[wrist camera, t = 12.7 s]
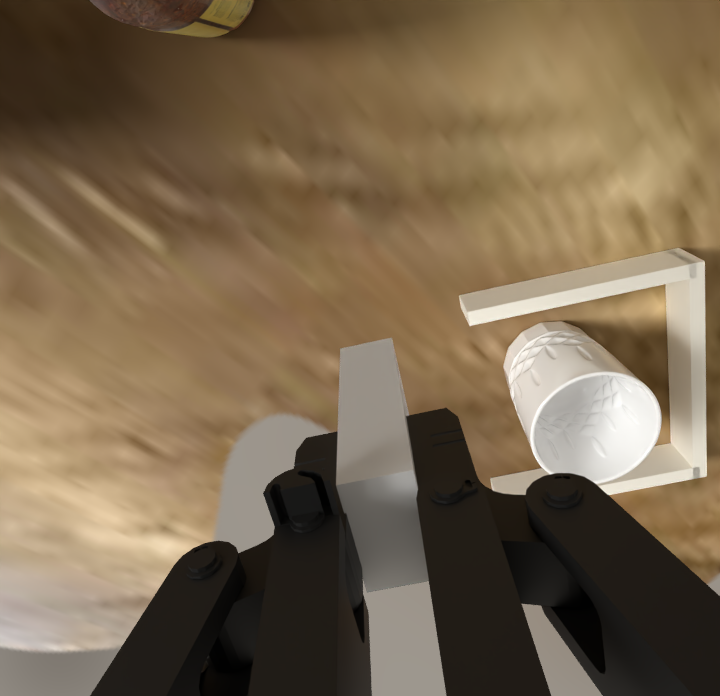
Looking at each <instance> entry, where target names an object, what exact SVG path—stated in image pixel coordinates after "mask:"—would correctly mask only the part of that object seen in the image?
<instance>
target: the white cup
mask: <svg viewBox="0 0 720 696" xmlns="http://www.w3.org/2000/svg"><path fill="white" fill-rule="evenodd" d="M503 367H504V371H505V376H506V380H507V384H508V387H509V389H510V394H511V397H512V400H513V402H514V405H515V408H516V411H517V414H518V417H519V419H520V422H521V424H522V427H523V429H524V432H525V434H526V436H527V439H528V441H529V444H530V446H531V449H532V451H533V454H534V456H535V458H536V460H537V461H538V463H539V464H540V466H541V467H542V468H543V469H544V470H545V471H546V472H548V473H549V474H555V473H572V474H576V475H580V476H584V477H586V478H587V479H589V480H591V481H592V482H594V483H595V484H600V483H605V482H608V481H611V480H614V479H617V478H619V477H621V476H623V475H625V474H627V473H628V472H630V471H631V470H633V469H634V468H636V467H637V466H638V465H639V464H640V463H641V462H642V461H643V460H644V459H645V458H646V457H647V456H648V455H649V453H650V452H651V450H652V449H653V447H654V446H655V444H656V442H657V439H658V437H659V433H660V429H661V421H662V418H661V410H660V406H659V403H658V401H657V399H656V397H655V395H654V394H653V392H652V391H651V390H650V389H649V388H648V387H647V386H646V385H645V384H644V383H643V382H642V381H641V380H640V379H638V378H637V377H636V376H635V375H634V374H633V373H632V372H631V371H630V370H629V369H627V368H626V367H625V366H624V365H623V364H622V363H621V362H620V361H619V360H618V359H616V358H615V357H614V356H613V355H612V354H611V353H609V352H608V351H607V350H606V349H605V348H603V347H602V346H601V345H600V344H599V343H597V342H596V341H594V340H593V339H591V338H590V337H589V336H588V335H587V334H585V333H584V332H583V331H582V330H581V329H580V328H578V327H575V326H573V325H570V324H568V323H565V322H563V321H555V322H541V323H538V324H537V325H535V326H533V327H531V328H529V329H527V330H525V331H523V332H521V333H520V335H519V336H518V337H517V338H516V339H515V340H514V342H513V343H512V344H511V345H510V346H509V348H508V351H507V354H506V358H505V362H504V365H503Z"/></svg>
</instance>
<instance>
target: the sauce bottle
mask: <svg viewBox="0 0 720 696" xmlns="http://www.w3.org/2000/svg"><path fill="white" fill-rule="evenodd" d="M89 1H91V2H92V3H93V4H94V5H95V6H96V7H97V8H98V9H100V10H101V11H102V12H103V13H105V14H106V15H108V16H110V17H112V18H113V19H115V20H119V21H120V22H123V23H126V24H129V25H133V26H137V27H141V28H144V29H147V30H151V31H157V32H165V33H173V34H181V35H188V36H196V37H216V36H221V35H223V34H226V33H228V32H229V31H231V30H235V29H237V28H238V27H239V26H240V25H241V24H242V23H243V22H244V21H245V19H246V18H247V16H248V15H249V13H250V12H251V9H252V6H253V3H254V0H89Z"/></svg>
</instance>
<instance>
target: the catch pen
mask: <svg viewBox="0 0 720 696" xmlns="http://www.w3.org/2000/svg"><path fill="white" fill-rule="evenodd" d="M664 284H665V287H666V315H667V344H668V373H669V402H670V431H671V443H668V444H663V445H658V446H654V447H653V449H652V450H651V452H650V453H649V455H648V456H647V457H646V458H645V459H644V460H643V461H642V462H641V463H640V464H639V465H638V466H637V467H636V468H634V469H633V470H631V471H630V472H628V473H627V474H625V475H623V476H621V477H619V478H617V479H614V480H611V481H608V482H605V483H600V484H596V485H597V486H599V487H600V488H601V489H602V490H603V491H604V492H605V493H606V494H607V495H611V494H617V493H622V492H627V491H632V490H638V489H643V488H648V487H653V486H659V485H664V484H669V483H674V482H680V481H685V480H690V479H695V478H701V477H706V476H707V454H706V339H705V261H704V260H702V259H700V258H698V257H696V256H694V255H692V254H690V253H688V252H686V251H684V250H682V249H680V248H675V249H670V250H666V251H661V252H657V253H652V254H647V255H643V256H638V257H633V258H629V259H624V260H620V261H615V262H610V263H606V264H601V265H597V266H592V267H587V268H583V269H578V270H574V271H569V272H564V273H560V274H555V275H551V276H546V277H541V278H537V279H532V280H528V281H523V282H518V283H514V284H509V285H505V286H500V287H495V288H491V289H486V290H481V291H477V292H472V293H468V294H463V295H459V298H460V304H461V309H462V311H463V313H464V315H465V317H466V319H467V321H468V323H469V325H470V326H471V325H476V324H481V323H485V322H490V321H495V320H499V319H504V318H509V317H514V316H518V315H523V314H528V313H532V312H537V311H542V310H546V309H551V308H556V307H560V306H565V305H570V304H574V303H579V302H584V301H589V300H593V299H598V298H603V297H607V296H612V295H617V294H621V293H626V292H631V291H635V290H640V289H645V288H649V287H654V286H659V285H664ZM546 475H550V474H549V473H548V472H546V471H545V470H544V469H543V468H540V469H535V470H530V471H525V472H520V473H514V474H509V475H504V476H499V477H494V478H490V479H491V485H492V489H493V491H496V492H500V493H504V494H514V495H526V489H527V488H528V487H529V486H530V485H531V483H532V482H533V481H535V480H537V479H539V478H541V477H543V476H546Z"/></svg>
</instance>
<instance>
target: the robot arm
mask: <svg viewBox="0 0 720 696" xmlns="http://www.w3.org/2000/svg"><path fill="white" fill-rule="evenodd" d="M263 494H264V497H265V500H266V503H267V505H268V508H269V511H270V514H271V517H272V520H273V522H274V526H275V529H274V535H273V536H272V537H271V538H269V539H268V540H267V541H265V542H263V543H261V544H259V545H257V546H255V547H252V548H250V549H248V550H245V551H243V552H241V553H238V552H237V549H236V547H235V546H233V545H232V544H231V543H229V542H223V541H214V542H208V543H205V544H202V545H200V546H198V547H195V548H193V549H192V550H190V551H189V552H187V553H186V554H185V555H183V556H182V557H181V558H180V559H179V560H178V562H177V563H176V564H175V565H174V566H173V568H172V569H171V571H170V573H169V574H168V576H167V577H166V579H165V580H164V582H163V583H162V585H161V587H160V588H159V590H158V591H157V593H156V594H155V596H154V597H153V599H152V601H151V602H150V604H149V605H148V607H147V608H146V610H145V611H144V613H143V615H142V616H141V618H140V619H139V621H138V622H137V624H136V625H135V627H134V629H133V630H132V632H131V633H130V635H129V636H128V638H127V639H126V641H125V643H124V644H123V646H122V647H121V649H120V650H119V652H118V653H117V655H116V657H115V658H114V660H113V661H112V663H111V664H110V666H109V668H108V669H107V671H106V672H105V674H104V676H103V677H102V678H101V680H100V681H99V683H98V684H97V686H96V688H95V689H94V691H93V692H92V694H91V695H90V696H372V691H371V665H370V643H369V642H370V640H369V615H368V609H367V606H366V603H365V599H364V596H363V580H364V584H365V587H366V590H367V592H372V591H377V590H383V589H388V588H394V587H399V586H405V585H410V584H415V583H421V582H426V581H429V585H430V591H431V598H432V604H433V611H434V617H435V623H436V630H437V637H438V643H439V649H440V656H441V662H442V669H443V675H444V682H445V688H446V695H447V696H551V694H550V691H549V688H548V685H547V682H546V678H545V675H544V672H543V669H542V666H541V664H540V660H539V657H538V654H537V651H536V647H535V644H534V641H533V638H532V635H531V632H530V629H529V626H528V623H527V620H526V617H525V613H524V610H523V607H522V605H521V604H532V605H541V606H542V609H543V611H544V613H545V615H546V617H547V618H548V619H549V621H550V622H551V624H552V625H553V626H554V628H555V629H556V631H557V632H558V633H559V635H560V636H561V638H562V639H563V640H564V642H565V643H566V645H567V646H568V647H569V649H570V650H571V652H572V653H573V654H574V656H575V657H576V659H577V660H578V662H579V663H580V664H581V666H582V667H583V669H584V670H585V671H586V673H587V674H588V676H589V677H590V678H591V680H592V681H593V683H594V684H595V685H596V687H597V688H598V689H599V691H600V692H601V694H602V695H603V696H720V596H719V595H718V594H716V592H714V591H713V590H712V589H711V588H710V587H709V586H708V585H707V584H706V583H704V582H703V581H702V580H701V579H700V578H699V577H698V576H697V575H696V574H695V573H693V572H692V571H691V570H690V569H689V568H688V567H687V566H686V565H685V564H684V563H682V562H681V561H680V560H679V559H678V558H677V557H676V556H675V555H674V554H672V553H671V552H670V551H669V550H668V549H667V548H666V547H665V546H664V545H663V544H661V543H660V542H659V541H658V540H657V539H656V538H655V537H654V536H653V535H652V534H650V533H649V532H648V531H647V530H646V529H645V528H644V527H643V526H642V525H640V524H639V523H638V522H637V521H636V520H635V519H634V518H633V517H632V516H631V515H629V514H628V513H627V512H626V511H625V510H624V509H623V508H622V507H621V506H620V505H618V504H617V503H616V502H615V501H614V500H613V499H612V498H611V497H610V496H609V495H607V494H606V493H605V492H604V491H603V490H602V489H601V488H600V487H599V486H597V485H596V484H595V483H594V482H592V481H591V480H589V479H587V478H586V477H584V476H580V475H576V474H572V473H555V474H550V475H546V476H543V477H541V478H539V479H537V480H535V481H533V482H532V483H531V485H530V486H529V487H528V488H527V489H526V495H514V494H504V493H500V492H496V491H493V490H491V489H489V488H487V487H485V486H484V485H483V484H482V483H481V482H480V481H479V479H478V477H477V475H476V472H475V469H474V465H473V462H472V459H471V456H470V453H469V450H468V447H467V444H466V441H465V437H464V434H463V431H462V428H461V425H460V422H459V419H458V416H456V415H455V414H454V413H452V412H451V411H450V410H448V409H447V408H443V409H438V410H433V411H428V412H424V413H419V414H414V415H409V413H408V408H407V404H406V399H405V395H404V390H403V386H402V381H401V377H400V372H399V368H398V363H397V359H396V354H395V350H394V345H393V341H392V338H388V339H383V340H379V341H374V342H369V343H365V344H360V345H355V346H351V347H346V348H341V349H340V377H339V408H338V432H333V433H328V434H323V435H318V436H313V437H308V438H306V439H305V440H304V441H303V443H302V444H301V446H300V447H299V448H298V449H297V451H296V457H295V466H294V469H292V470H288V471H286V472H284V473H282V474H280V475H279V476H277V477H275V478H274V479H273V480H272V481H271V482H270V483H269V484H268V485H267V487H266V489H265V491H264V493H263ZM362 579H363V580H362Z"/></svg>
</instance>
